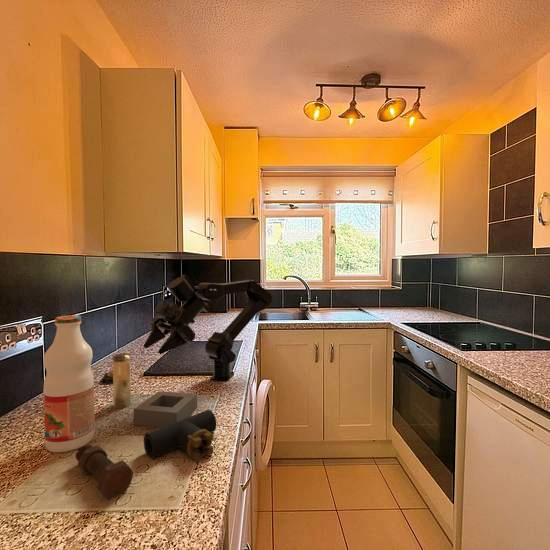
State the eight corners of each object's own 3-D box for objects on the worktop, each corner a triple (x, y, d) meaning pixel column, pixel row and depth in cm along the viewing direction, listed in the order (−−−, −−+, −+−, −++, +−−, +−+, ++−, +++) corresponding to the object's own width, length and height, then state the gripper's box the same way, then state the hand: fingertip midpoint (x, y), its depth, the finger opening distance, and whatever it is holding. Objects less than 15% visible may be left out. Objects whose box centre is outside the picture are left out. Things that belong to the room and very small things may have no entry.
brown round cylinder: (120, 400, 93) (119, 353, 92) (134, 402, 92) (133, 353, 92) (110, 407, 88) (109, 357, 88) (124, 408, 88) (123, 358, 87)
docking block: (159, 405, 90) (158, 391, 90) (197, 408, 88) (196, 394, 88) (134, 424, 79) (133, 408, 79) (176, 429, 77) (176, 412, 77)
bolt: (88, 469, 65) (123, 501, 55) (63, 467, 61) (95, 501, 52) (102, 438, 67) (138, 464, 57) (79, 435, 64) (113, 461, 54)
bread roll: (102, 378, 114) (101, 367, 114) (128, 374, 118) (128, 364, 117) (100, 388, 104) (100, 376, 104) (129, 383, 108) (128, 372, 108)
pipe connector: (233, 421, 70) (170, 449, 59) (234, 445, 70) (170, 478, 60) (204, 406, 78) (143, 429, 67) (204, 428, 78) (143, 454, 67)
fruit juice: (94, 446, 69) (92, 318, 69) (41, 458, 65) (38, 321, 64) (95, 427, 78) (93, 312, 77) (48, 437, 73) (45, 315, 73)
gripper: (158, 291, 104) (120, 327, 96) (189, 295, 91) (148, 336, 83) (178, 315, 110) (144, 351, 101) (210, 322, 97) (173, 363, 88)
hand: (151, 350), depth 93 cm, fingers open, 9 cm apart
